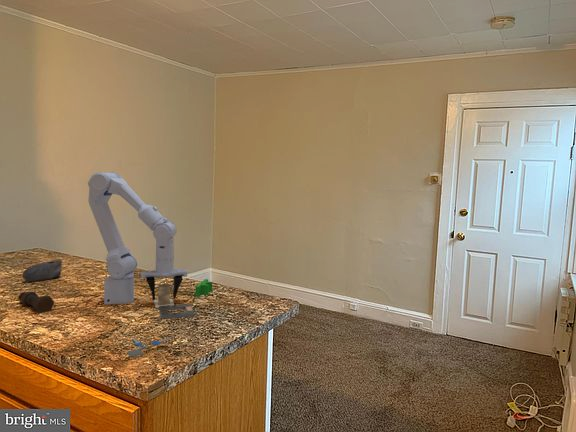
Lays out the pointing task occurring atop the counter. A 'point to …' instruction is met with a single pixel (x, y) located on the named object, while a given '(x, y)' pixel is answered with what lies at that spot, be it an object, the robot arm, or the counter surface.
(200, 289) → the pipe clamp
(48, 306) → the dark brown elongated lump
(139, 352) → the key chain
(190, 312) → the plate
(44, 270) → the perforated stone tool
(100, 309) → the counter surface
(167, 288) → the birch peg
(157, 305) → the white rectangular plate
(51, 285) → the counter surface
